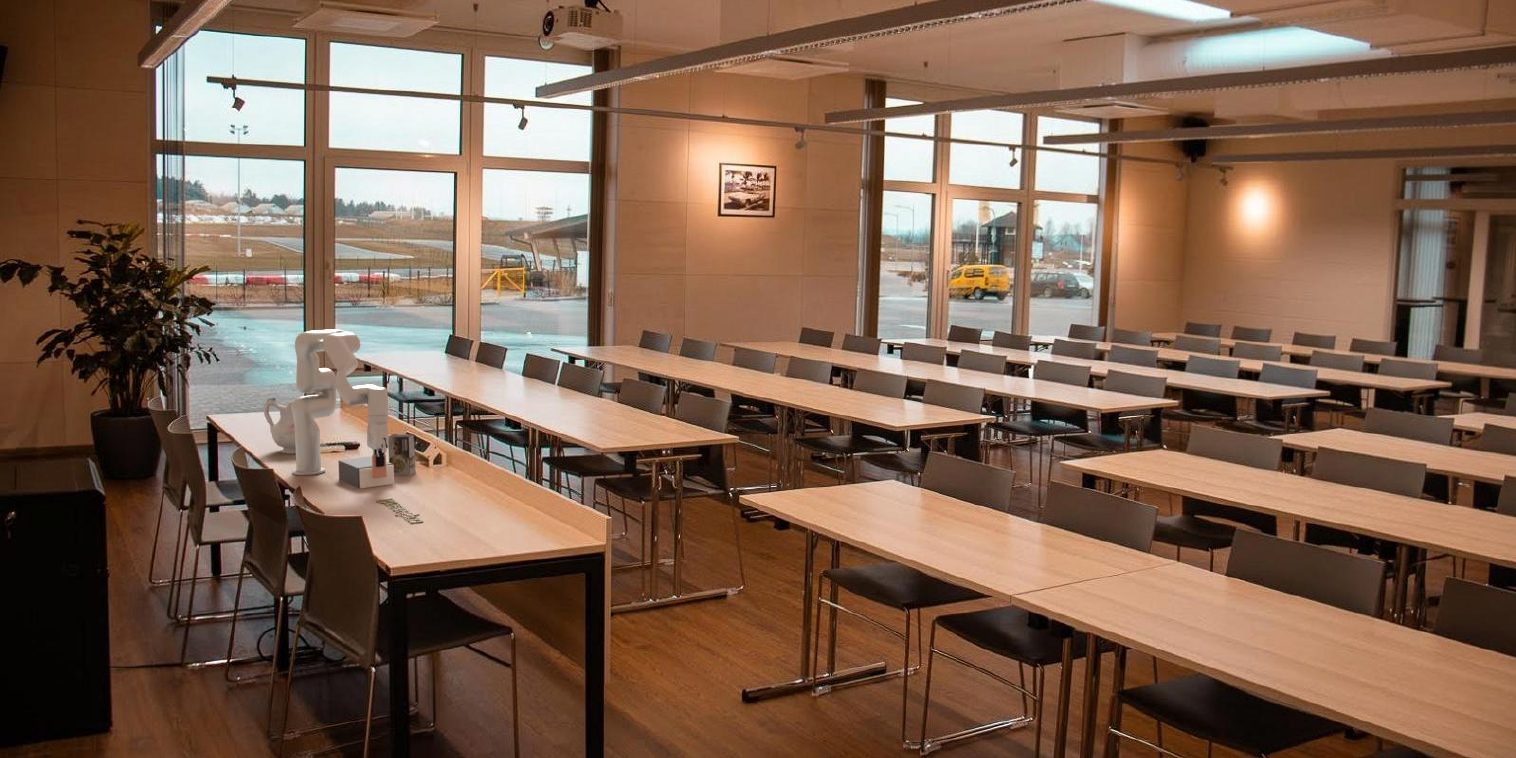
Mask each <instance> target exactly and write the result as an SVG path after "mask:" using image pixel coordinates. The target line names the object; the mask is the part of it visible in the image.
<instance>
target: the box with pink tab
mask: <svg viewBox="0 0 1516 758" xmlns="http://www.w3.org/2000/svg"><path fill="white" fill-rule="evenodd" d="M371 456H372V468H365V469H359V475H360V488H359V489H365V488H366V489H367V488H372V487H380V486H388V485H394V484H395V475H394V465H389V466H386V462H387V454H386V453H385V456H384V461H385V466H382V467H376V457H377V455H373V454H371Z"/></svg>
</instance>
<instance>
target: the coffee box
mask: <svg viewBox="0 0 1516 758" xmlns="http://www.w3.org/2000/svg"><path fill="white" fill-rule="evenodd" d="M388 437H389V446H388V448H387V449H388V462H389V463H392V465H394V476H412V475H414V474H416V471H417V470H416V444H415V443H416V442H415V433H414V434H413V433H392V434H390V435H388Z"/></svg>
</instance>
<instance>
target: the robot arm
mask: <svg viewBox="0 0 1516 758" xmlns="http://www.w3.org/2000/svg"><path fill="white" fill-rule="evenodd" d="M360 348H361V341H360V339H359V337H358V335H357V334H356V333H355V332H351V331H346V330H342V329H337V328H336V329H335V328H334V329H332V328H331V329H318V330H317V329H316V330H307V331H304V332H301V333H299V334H297V336H296V338H295V340H294V351H295V356H296V378H295V379H296V380H295V381H296V382H295V383H296V390H298V392H299V393H302V394H310V395H304V396H303V395H302V396H299V397H296V398H295V399H294V400H292V401H293V402H292V405H291V410H292V414H293V419H294V426H295V445H296V453H295V463H296V464H295V467H296V468H294V469H293V470H292V471H291V473H292V475H295V476H315V475H320V474H324V473H325V472H326V468H325V467H322V459H321V457H322V456H321V453H322V452H321V433H320V432H321V430H320V426H319V425H318V423H317V422H316V421H315V419H318V418H326V417H330V416H332V415H333V414H334V413H335V410H336V404H337V403H336V402H337V393H338V395H339V396H340V398H341V400H342V401H343V402H344V403H345V404H346V405H348V406H350V407H356V406H364V405H366V406H367V407H366V408H367V430H366V431H367V435H366V443H367V445H366V446H367V447H368V448H370V449H372V455H377V457H376V467H382V466H385V461H384V456H385V454H386V453H387V451H388V450H387V449H388V446H389V437H388V436H389V430H388V429H389V427H388V423H389V405H388V404H389V401H388V400H389V399H388V397H389V395H388V389H387V388H386V387H385V386H377V385H375V384H362V385H354V386H352V385H351V383H350V382H349V380H348V378H347V376H348V375H350V374H352V373H353V372H354V371H355V370H356V369H357V368H358V366H359V361H358V359H357V357H356V356H355V353H357V352H359V350H360ZM317 352H326V354H327V356H328V358H329V360H330V361H331V362H332V364H333V366H334V368H335V369H336V371H337V373H334V371H333V370H332V369H330V368H327V367H322V368H321V367H320V358H319V356H318V354H317ZM313 393H318V394H313Z"/></svg>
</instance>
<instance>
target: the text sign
mask: <svg viewBox="0 0 1516 758" xmlns="http://www.w3.org/2000/svg"><path fill="white" fill-rule="evenodd" d="M375 502H376V503H377V504H379V505H385V506H386V507H388V506H390V507H389V508H388V509H390V508H393V509H391V510H393V511H392V512H396V513H394V514H395V515H394V517H399V516H398V515H401V516H406V517H402V519H403V518H405V519H404V521H405V520H408V521H407V523H409V524H410V523H416V524H419V523H418V522H425V521H424V520H423V519H420V517H419V516H420V513H415V514H413V512H408V511H410V510H409V509H408V508H406V507H404V505H401V503H399V502H398V501H396V500H395V499H393V498H384V499H382V498H381V499H376V500H375ZM396 506H397V507H396ZM398 506H400V507H398ZM401 508H403V509H401ZM395 509H398V510H395ZM403 510H406V511H403ZM398 511H401V512H398ZM405 512H407V513H405ZM397 513H398V514H397ZM402 513H403V514H402ZM407 514H412V515H407ZM416 515H419V516H416ZM401 516H400V517H401ZM412 516H415V517H412ZM408 518H415V519H408ZM410 521H416V522H410Z"/></svg>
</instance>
